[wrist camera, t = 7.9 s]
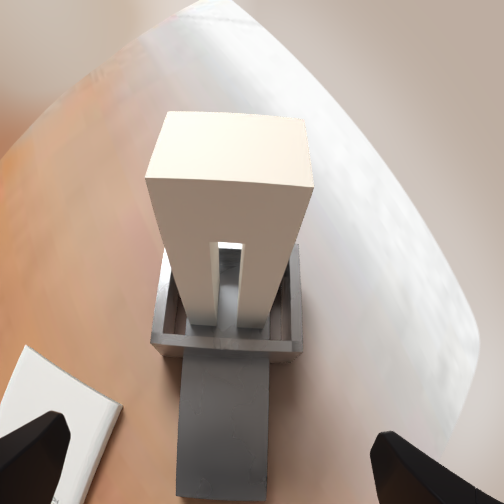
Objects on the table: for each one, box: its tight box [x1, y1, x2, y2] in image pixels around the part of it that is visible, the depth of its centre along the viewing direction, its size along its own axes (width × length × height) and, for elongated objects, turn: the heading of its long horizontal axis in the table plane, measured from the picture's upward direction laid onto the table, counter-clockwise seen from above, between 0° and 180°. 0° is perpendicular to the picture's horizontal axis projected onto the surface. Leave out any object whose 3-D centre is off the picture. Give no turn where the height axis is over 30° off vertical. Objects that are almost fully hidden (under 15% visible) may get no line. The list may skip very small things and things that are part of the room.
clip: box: [145, 112, 314, 329], centre depth 14 cm, size 3×4×12 cm
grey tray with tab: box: [150, 242, 303, 501], centre depth 17 cm, size 16×8×3 cm, turn 179°
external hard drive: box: [0, 345, 123, 504], centre depth 14 cm, size 2×8×12 cm
